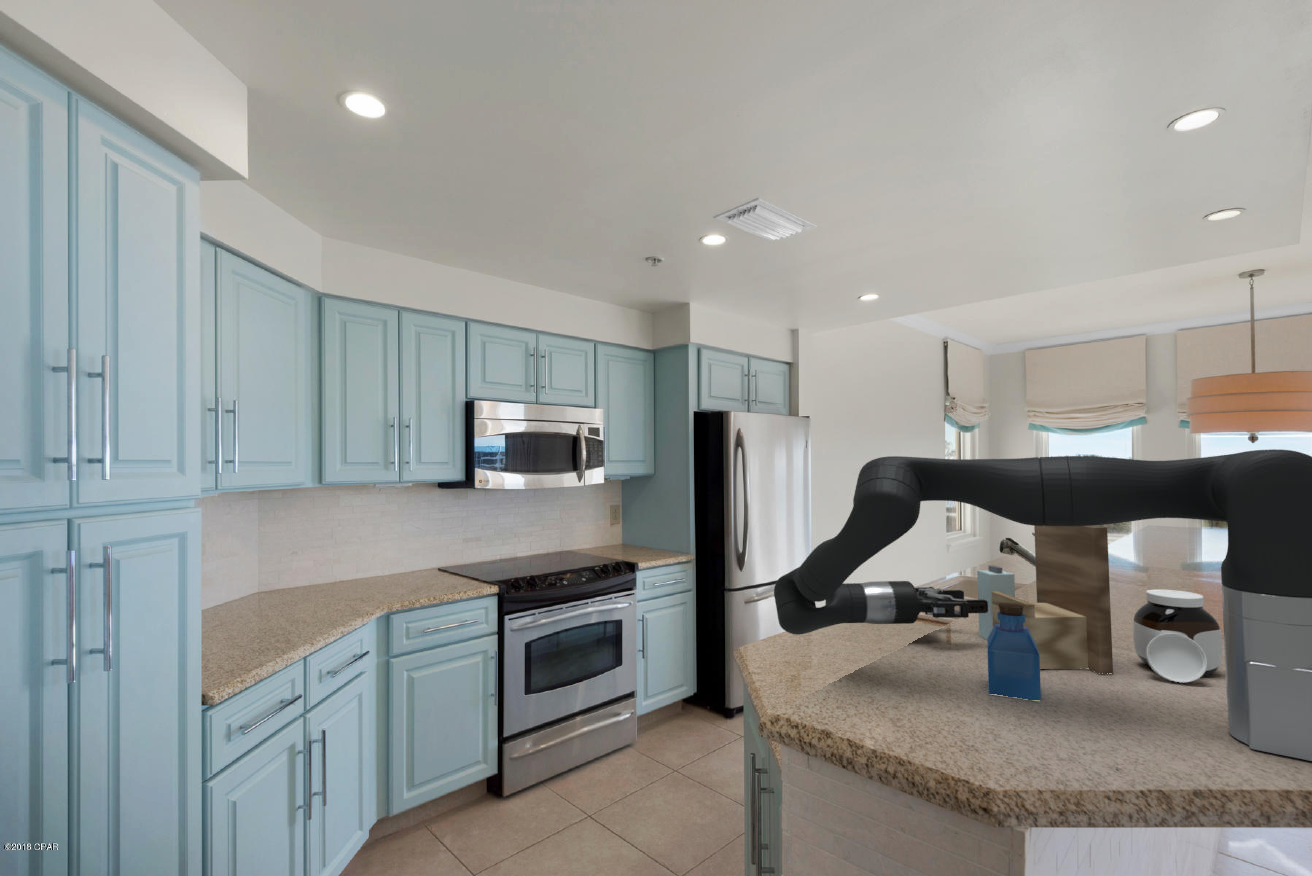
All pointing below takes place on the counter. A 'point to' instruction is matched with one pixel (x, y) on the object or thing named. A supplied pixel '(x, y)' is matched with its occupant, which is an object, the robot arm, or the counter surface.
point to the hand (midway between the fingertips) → (974, 600)
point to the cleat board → (1069, 599)
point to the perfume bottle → (1013, 656)
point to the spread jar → (1177, 636)
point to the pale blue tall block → (986, 585)
